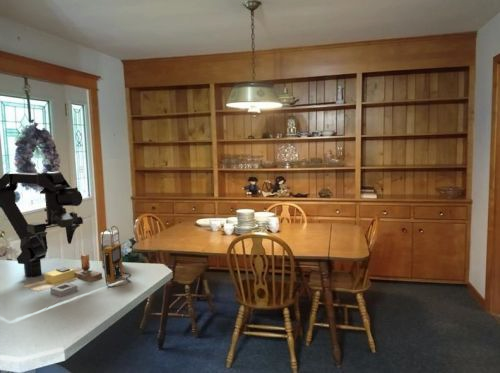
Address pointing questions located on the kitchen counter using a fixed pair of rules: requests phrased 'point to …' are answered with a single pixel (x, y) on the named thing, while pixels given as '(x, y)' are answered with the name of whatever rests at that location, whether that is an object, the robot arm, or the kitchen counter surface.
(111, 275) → the multimeter
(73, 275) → the block
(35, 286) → the subfloor panel
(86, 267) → the awl
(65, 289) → the awl holder
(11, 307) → the kitchen counter surface
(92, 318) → the kitchen counter surface
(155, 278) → the kitchen counter surface
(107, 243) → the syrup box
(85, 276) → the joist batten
